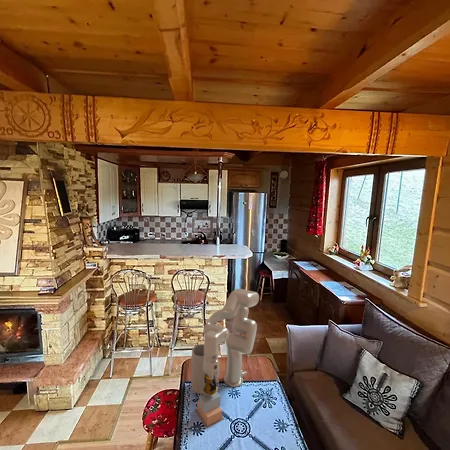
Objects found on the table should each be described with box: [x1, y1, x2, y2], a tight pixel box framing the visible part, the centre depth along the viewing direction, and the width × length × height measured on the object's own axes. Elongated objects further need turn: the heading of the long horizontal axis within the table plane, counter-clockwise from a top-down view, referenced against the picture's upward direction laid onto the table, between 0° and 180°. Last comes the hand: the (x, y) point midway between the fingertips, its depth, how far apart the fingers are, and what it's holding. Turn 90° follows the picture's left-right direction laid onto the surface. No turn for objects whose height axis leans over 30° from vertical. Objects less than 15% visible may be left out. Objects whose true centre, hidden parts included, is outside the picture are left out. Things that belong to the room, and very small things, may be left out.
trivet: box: [194, 408, 225, 429], centre depth 147 cm, size 11×14×1 cm
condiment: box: [200, 374, 219, 397], centre depth 145 cm, size 7×8×12 cm
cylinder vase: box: [190, 343, 205, 395], centre depth 166 cm, size 12×12×25 cm
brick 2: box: [196, 400, 223, 426], centre depth 146 cm, size 12×9×5 cm
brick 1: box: [198, 391, 221, 414], centre depth 146 cm, size 10×6×6 cm, turn 122°
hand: (210, 385), depth 144 cm, fingers closed on condiment, 6 cm apart
